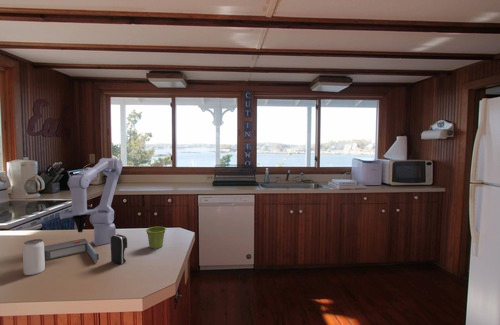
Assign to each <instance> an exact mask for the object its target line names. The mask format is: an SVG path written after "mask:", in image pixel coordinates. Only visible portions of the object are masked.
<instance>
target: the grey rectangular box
mask: <svg viewBox="0 0 500 325" xmlns="http://www.w3.org/2000/svg"><path fill="white" fill-rule="evenodd" d="M87 243H89V241H88V240H87V239H86V238H80V239H75V240H71V241H63V242H58V243H54V244H48V245H44V254H45V261H49V260H55V259H60V258H64V257H68V256H72V255H78V254H82V253H88V252H87Z"/></svg>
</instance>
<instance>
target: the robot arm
mask: <svg viewBox="0 0 500 325" xmlns="http://www.w3.org/2000/svg"><path fill="white" fill-rule="evenodd" d="M122 161H123V160H122V159H121V158H120V157H117V158H114V157H113V158H112V157H110V158H107V157H102V158H100V159H99V160H98V163H96V164H95V165H94V166H93V167H85V169H84V170H82V171H80V172H79V173H78V174H76V175H75V174H74V175H72V176H70V177H69V178H68V181H67V186H68V187H69V192H70V193H71V211H70V212H69V211H67V212H64V213H63V212H62V213H59V219H60V220H63V219H68V218H72V219H73V221H74V223H75V226H76V228H77V232H78V233H83V232H84V231H83V230H84V226H85V223H86V221H87V220H88V216H89V215H90V216H89V222H90V224H91V225H92V227H93V239H94V240H91V243H92V244H93V245H94V246H96V247H97V246H100V245H101V246H102V245H105V244H106V245H107V244H111V237H112V236H113V235H117V234H116V233H117V231H116V225H115V223H113V222H114V220H115V210H114V209H113V208H112V202H113V198H114V195H115V191H116V187H117V184H118V181H119V178H120V177H119V176H120V175H121V173H122V170H123V166H124V164H123V162H122ZM101 172H102V173H103V174H104V176H106V182H105V184H104V188H103V190H102V195H101V198H100V202H99V204H98V205H97V206H96V207H94V208H92V209H88V203H87V202H88V198H87V194H88V193H87V188H89V185H90V183H91V182H92V181H93V180H94V179H96V178H97V177H98V174H100V173H101Z"/></svg>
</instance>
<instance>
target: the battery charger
mask: <svg viewBox="0 0 500 325" xmlns="http://www.w3.org/2000/svg"><path fill="white" fill-rule="evenodd" d="M127 248H128V238H127V236H126V235H122V234H118V233H117V234H116V235H113V236H112V237H111V243H110V261H111V262H113V263H115V264H119V265H123V264H125V263H127V261H126V259H125V250H126V249H127Z"/></svg>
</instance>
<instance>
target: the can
mask: <svg viewBox="0 0 500 325" xmlns="http://www.w3.org/2000/svg"><path fill="white" fill-rule="evenodd" d="M43 241H44V240H43V239H42V238H41V239H40V238H36V239H30V240H26V241H24V242H23V246H22V262H23V263H22V264H23V265H22V268H23V269H22V270H23V275H24V276H34V275H38V274H40V273H42V272H44V271H45V270H46V269H45V268H46V266H45V265H46V264H45V262H46V259H45V254H44V246H45V242H43Z"/></svg>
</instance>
